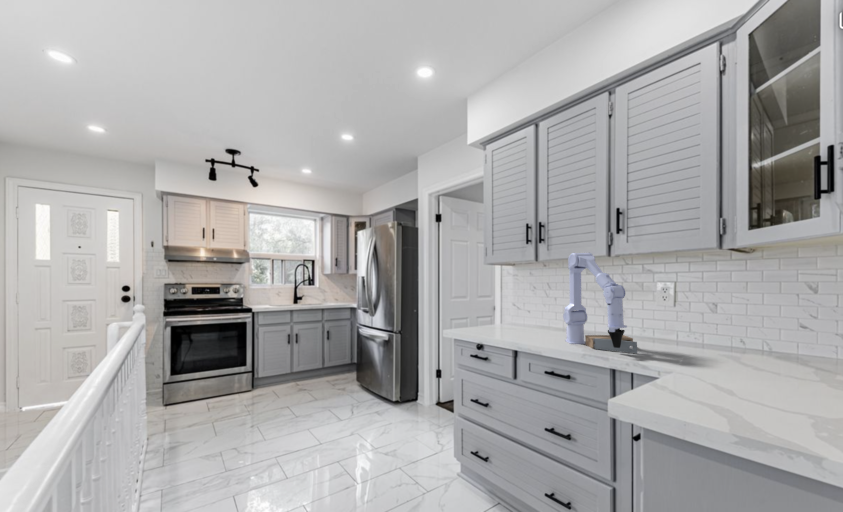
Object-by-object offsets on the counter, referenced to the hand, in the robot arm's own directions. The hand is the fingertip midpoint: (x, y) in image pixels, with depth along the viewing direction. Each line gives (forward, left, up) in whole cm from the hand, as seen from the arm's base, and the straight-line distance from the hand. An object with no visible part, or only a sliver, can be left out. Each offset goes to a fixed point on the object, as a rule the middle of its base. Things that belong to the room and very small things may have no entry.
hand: (616, 347), depth 151 cm
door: (-4, +1, -2) cm, 5 cm away
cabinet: (-14, +2, -2) cm, 15 cm away
